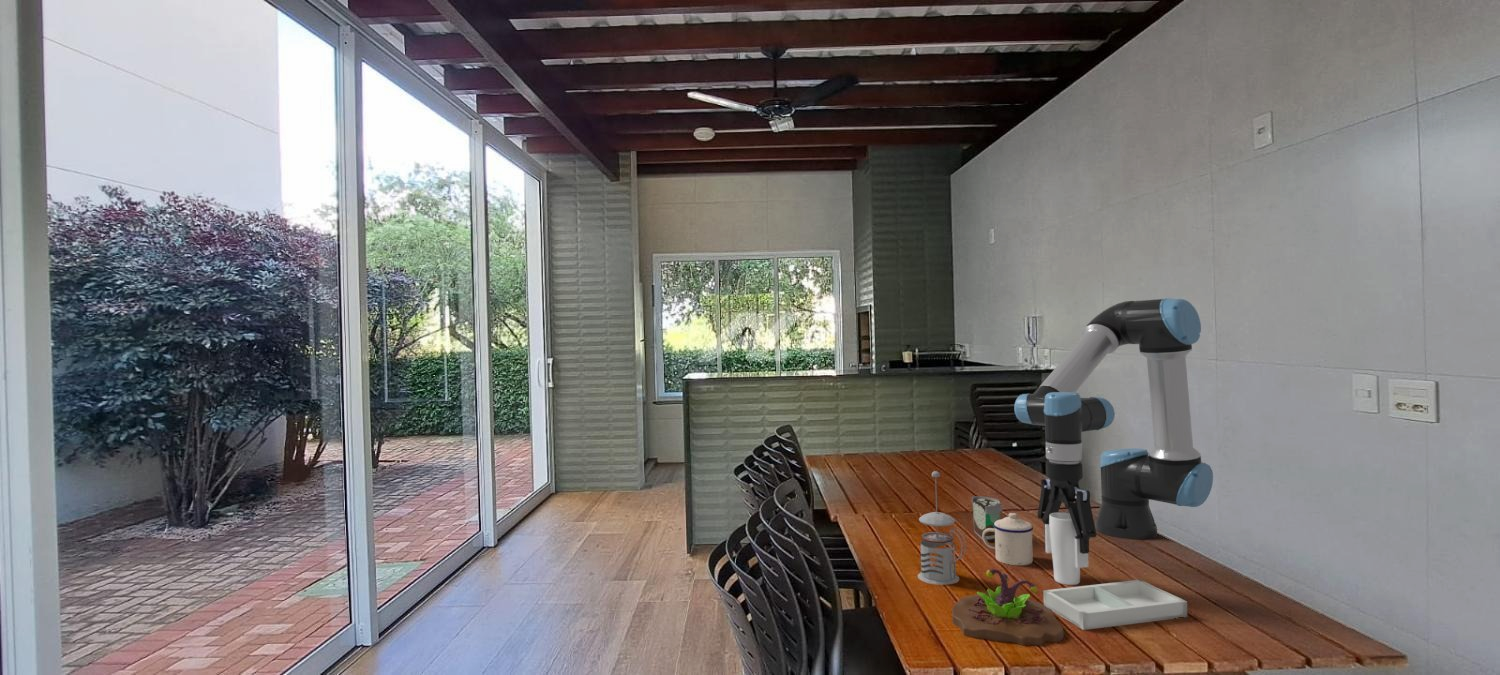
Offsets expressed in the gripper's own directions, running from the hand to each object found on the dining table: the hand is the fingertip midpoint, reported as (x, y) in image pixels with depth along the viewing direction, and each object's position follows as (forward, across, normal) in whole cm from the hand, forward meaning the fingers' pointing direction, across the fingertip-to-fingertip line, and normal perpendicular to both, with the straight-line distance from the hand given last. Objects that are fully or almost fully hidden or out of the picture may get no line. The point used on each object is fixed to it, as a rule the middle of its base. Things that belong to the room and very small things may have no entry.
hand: (1066, 559), depth 151 cm
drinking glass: (+5, 0, 0) cm, 5 cm away
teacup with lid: (+5, -17, -4) cm, 18 cm away
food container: (+5, -35, +2) cm, 35 cm away
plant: (+6, +16, -26) cm, 31 cm away
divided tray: (+5, +17, -2) cm, 18 cm away
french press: (+5, -9, -26) cm, 28 cm away
